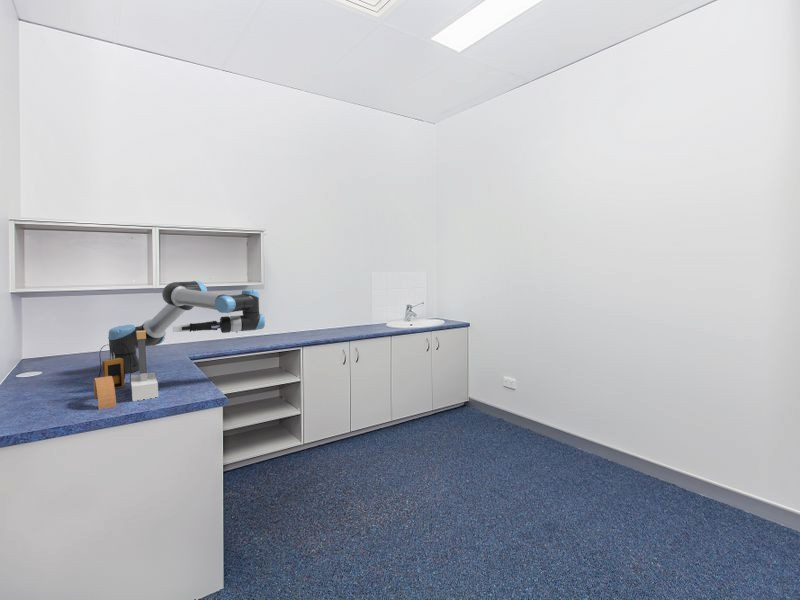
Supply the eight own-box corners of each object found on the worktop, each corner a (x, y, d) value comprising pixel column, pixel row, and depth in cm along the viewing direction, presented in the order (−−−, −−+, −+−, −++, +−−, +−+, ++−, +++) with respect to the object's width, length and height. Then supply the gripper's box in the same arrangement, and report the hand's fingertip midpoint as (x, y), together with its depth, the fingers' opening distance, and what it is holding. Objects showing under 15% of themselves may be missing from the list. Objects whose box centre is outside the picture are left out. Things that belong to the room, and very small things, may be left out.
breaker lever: (139, 377, 183) (136, 330, 182) (147, 376, 185) (145, 330, 184) (139, 379, 179) (136, 332, 178) (148, 378, 181) (145, 331, 180)
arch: (111, 395, 181) (109, 371, 180) (116, 406, 165) (114, 381, 165) (94, 397, 177) (92, 374, 177) (98, 409, 162) (96, 383, 161)
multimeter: (125, 381, 202) (123, 339, 200) (133, 385, 196) (131, 341, 194) (88, 388, 191) (85, 344, 189) (95, 392, 184) (92, 346, 183)
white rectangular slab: (131, 388, 190) (130, 368, 189) (155, 385, 194) (153, 366, 194) (132, 401, 171) (131, 379, 170) (158, 397, 176) (157, 375, 175)
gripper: (233, 333, 195) (175, 339, 182) (227, 330, 205) (172, 335, 193) (232, 317, 194) (174, 321, 181) (226, 315, 205) (171, 319, 192)
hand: (173, 328), depth 187 cm, fingers closed
